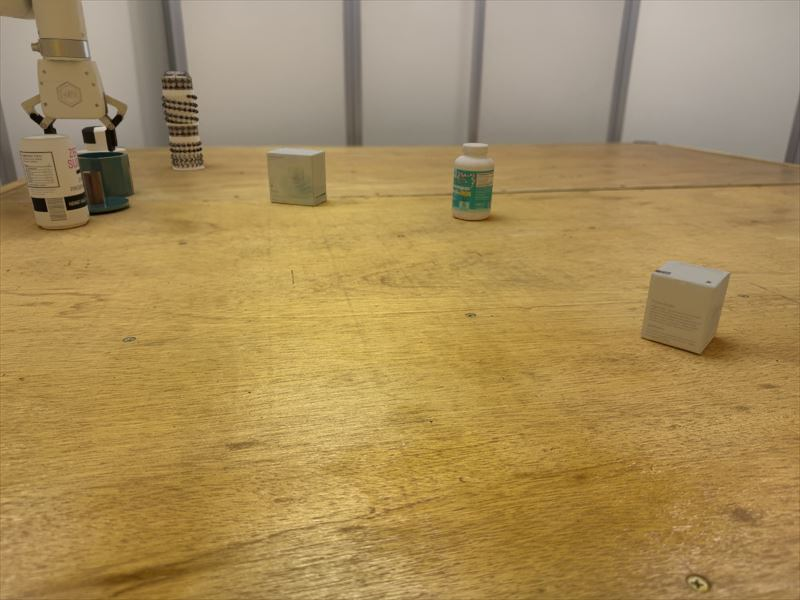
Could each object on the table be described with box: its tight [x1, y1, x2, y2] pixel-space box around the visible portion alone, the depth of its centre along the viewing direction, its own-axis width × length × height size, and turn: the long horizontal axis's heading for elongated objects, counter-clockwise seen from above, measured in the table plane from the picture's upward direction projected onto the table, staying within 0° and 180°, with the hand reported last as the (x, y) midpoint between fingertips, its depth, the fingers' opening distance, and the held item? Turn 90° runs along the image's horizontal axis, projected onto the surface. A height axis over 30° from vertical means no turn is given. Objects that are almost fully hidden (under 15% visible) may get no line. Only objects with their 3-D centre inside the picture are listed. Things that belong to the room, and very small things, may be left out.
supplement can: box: [17, 133, 91, 230], centre depth 94 cm, size 8×8×15 cm
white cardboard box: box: [640, 259, 731, 355], centre depth 57 cm, size 6×6×7 cm
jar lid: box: [82, 171, 131, 214], centre depth 107 cm, size 11×11×7 cm
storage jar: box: [77, 152, 135, 198], centre depth 119 cm, size 10×10×8 cm
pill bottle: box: [451, 142, 495, 221], centre depth 103 cm, size 8×7×14 cm
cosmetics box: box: [265, 147, 328, 207], centre depth 114 cm, size 10×6×10 cm, turn 71°
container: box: [76, 125, 127, 154], centre depth 130 cm, size 8×8×13 cm
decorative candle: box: [160, 70, 205, 172], centre depth 149 cm, size 9×9×25 cm
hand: (84, 150), depth 104 cm, fingers open, 9 cm apart
